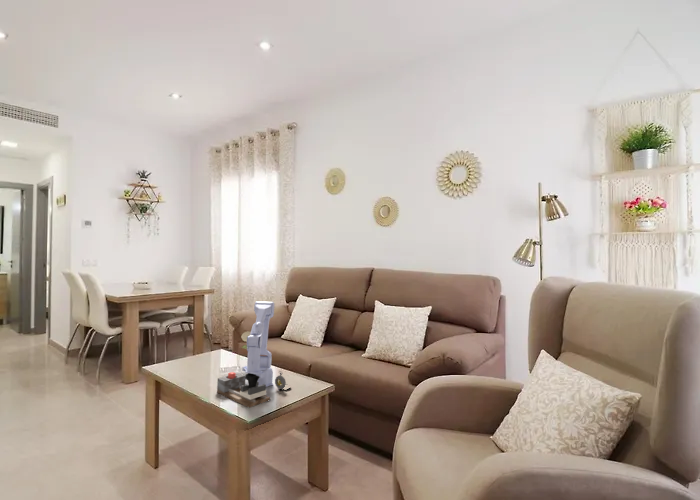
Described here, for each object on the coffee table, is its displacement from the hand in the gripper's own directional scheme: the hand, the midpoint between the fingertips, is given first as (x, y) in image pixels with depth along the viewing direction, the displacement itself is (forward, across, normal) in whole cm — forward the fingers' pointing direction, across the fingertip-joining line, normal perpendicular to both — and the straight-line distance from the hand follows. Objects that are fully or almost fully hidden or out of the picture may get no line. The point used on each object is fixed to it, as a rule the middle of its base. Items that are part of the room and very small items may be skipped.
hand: (252, 389), depth 178 cm
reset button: (0, -17, 0) cm, 17 cm away
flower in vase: (+5, -30, +21) cm, 37 cm away
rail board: (+5, -7, 0) cm, 9 cm away
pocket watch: (+5, -1, +20) cm, 21 cm away
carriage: (+2, +1, 0) cm, 2 cm away
